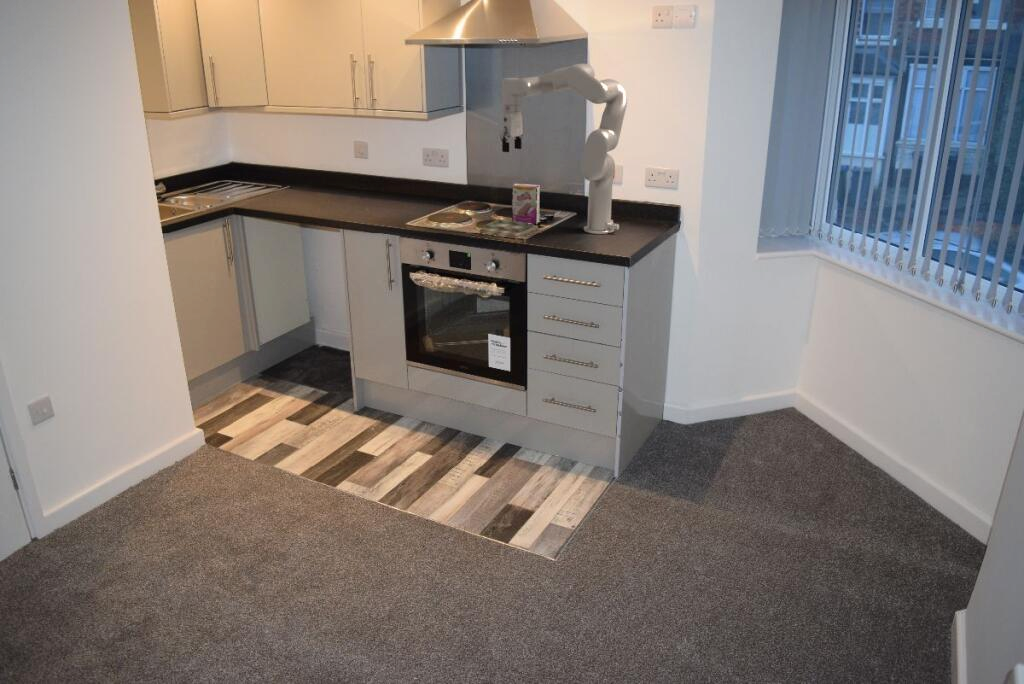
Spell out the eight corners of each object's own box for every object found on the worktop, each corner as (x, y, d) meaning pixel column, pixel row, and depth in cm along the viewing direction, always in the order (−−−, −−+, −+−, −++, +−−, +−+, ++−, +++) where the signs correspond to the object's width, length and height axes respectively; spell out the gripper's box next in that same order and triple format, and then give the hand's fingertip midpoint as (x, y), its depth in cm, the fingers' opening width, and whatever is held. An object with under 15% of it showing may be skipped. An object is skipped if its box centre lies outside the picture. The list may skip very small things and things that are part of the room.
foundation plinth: (538, 230, 341) (538, 222, 340) (516, 239, 328) (516, 231, 327) (501, 224, 350) (501, 217, 349) (479, 233, 337) (479, 226, 335)
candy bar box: (511, 223, 352) (511, 185, 346) (514, 220, 357) (514, 183, 351) (536, 225, 350) (537, 186, 343) (539, 222, 354) (539, 184, 348)
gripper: (508, 111, 333) (508, 153, 340) (529, 107, 347) (530, 148, 353) (492, 110, 337) (493, 152, 343) (514, 106, 351) (515, 147, 357)
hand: (512, 150), depth 348 cm, fingers open, 9 cm apart
